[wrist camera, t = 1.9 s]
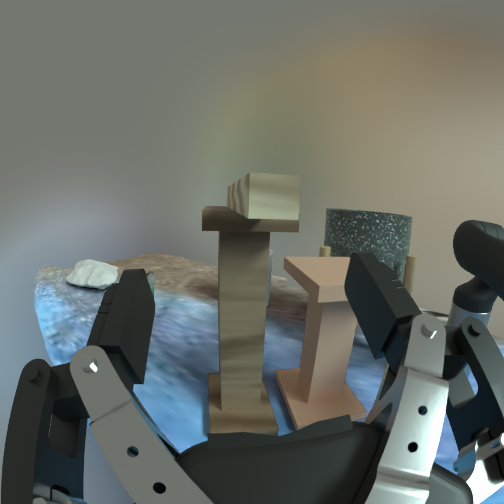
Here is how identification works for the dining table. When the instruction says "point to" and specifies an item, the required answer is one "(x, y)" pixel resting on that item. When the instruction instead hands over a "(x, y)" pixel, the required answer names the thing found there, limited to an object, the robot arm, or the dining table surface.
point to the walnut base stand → (241, 321)
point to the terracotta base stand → (322, 345)
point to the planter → (371, 239)
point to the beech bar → (265, 196)
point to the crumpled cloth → (93, 274)
